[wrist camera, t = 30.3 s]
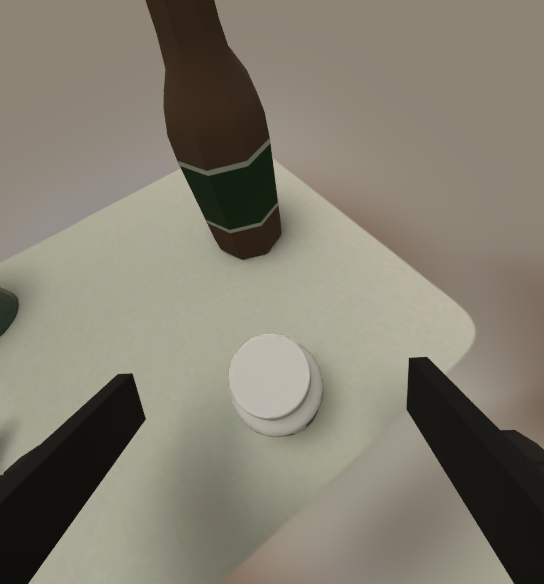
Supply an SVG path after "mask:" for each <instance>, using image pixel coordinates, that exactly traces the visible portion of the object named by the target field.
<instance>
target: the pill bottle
mask: <svg viewBox="0 0 544 584" xmlns="http://www.w3.org/2000/svg"><path fill="white" fill-rule="evenodd" d="M228 382H229V387H230V395H231V400H232V404H233V406H234V409H235V411H236V413H237V414H238V416H239V417H240V419H241V420H242V421H243V422H244V423H245V424H246V425H247V426H248V427H249V428H251V429H252V430H254V431H255V432H257V433H260V434H262V435H266V436H271V437H282V436H288V435H293V434H296V433H298V432H300V431H302V430H304V429H305V428H306V427H307V426H309V425H310V423H311V422H312V421H313V420H314V418H315V416H316V414H317V412H318V409H319V406H320V403H321V399H322V395H323V382H322V375H321V372H320V369H319V366H318V364H317V362H316V360H315V359H314V357H313V356H312V355H311V354H310V352H309V351H308V350H307V349H305V348H304V347H303V346H301V345H300V344H298V343H296V342H294V341H293V340H291V339H290V338H288V337H286V336H283V335H280V334H273V333H267V334H261V335H258V336H255V337H253V338H251V339H249V340H248V341H246V342H245V343H244V344H243V345H242V346H241V347H240V348H239V349H238V350H237V352H236V353H235V355H234V357H233V359H232V361H231V364H230V367H229V374H228Z"/></svg>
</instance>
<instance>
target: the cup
mask: <svg viewBox="0 0 544 584" xmlns="http://www.w3.org/2000/svg"><path fill="white" fill-rule="evenodd" d="M17 309H18V300H17V297H16V296H15V295H14V294H13V293H11V292H9V291H7V290H5V289H3V288H1V287H0V335H2V334H3V333H4V331H5V330H6V329H7V328H8V327H9V325H10V324H11V323H12V321H13V319H14V317H15V315H16V313H17Z"/></svg>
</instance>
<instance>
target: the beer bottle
mask: <svg viewBox="0 0 544 584" xmlns="http://www.w3.org/2000/svg"><path fill="white" fill-rule="evenodd" d="M146 3H147V6H148V9H149V12H150V15H151V18H152V21H153V24H154V27H155V30H156V33H157V37H158V41H159V45H160V49H161V53H162V57H163V60H164V65H165V69H166V70H165V83H164V114H165V121H166V128H167V135H168V138H169V141H170V143H171V146H172V148H173V151H174V153H175V156H176V158H177V161H178V163H179V165H180V167H181V169H182V171H183V174H184V176H185V178H186V180H187V182H188V184H189V186H190V188H191V190H192V192H193V194H194V197H195V199H196V201H197V203H198V205H199V207H200V209H201V211H202V213H203V215H204V217H205V219H206V222H207V224H208V226H209V228H210V230H211V232H212V234H213V236H214V238H215V240H216V242H217V243H218V245H219V247H220V249H222V250H224V251H226V252H228V253H231V254H233V255H235V256H237V257H239V258H241V259H244V258H248V257H252V256H257V255H261V254H265V253H267V252H268V250H269V249H270V248H271V246H272V245H273V244H274V243H275V241H276V240H277V239H278V237H279V236H280V234H281V222H280V214H279V207H278V199H277V191H276V183H275V175H274V168H273V160H272V152H271V144H270V137H269V132H268V128H267V122H266V117H265V112H264V109H263V107H262V105H261V102H260V99H259V96H258V94H257V92H256V89H255V87H254V85H253V83H252V81H251V78H250V76H249V74H248V72H247V70H246V69H245V67H244V66H243V64H242V63H241V62H240V60H239V59H238V58H237V57H236V55H235V54H234V53H233V51H232V50H231V49H230V47H229V46H228V44H227V41H226V39H225V35H224V32H223V29H222V26H221V24H220V21H219V17H218V13H217V9H216V5H215V1H214V0H146Z"/></svg>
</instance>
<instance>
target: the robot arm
mask: <svg viewBox="0 0 544 584" xmlns="http://www.w3.org/2000/svg"><path fill="white" fill-rule="evenodd" d="M407 411H408V412H409V414H410V416H411V417H412V419H413V420H414V422H415V424H416V425H417V427H418V428H419V430H420V432H421V433H422V435H423V437H424V438H425V440H426V442H427V443H428V445H429V446H430V448H431V449H432V451H433V453H434V454H435V456H436V458H437V459H438V461H439V463H440V464H441V466H442V467H443V469H444V471H445V472H446V474H447V476H448V477H449V479H450V480H451V482H452V484H453V485H454V487H455V489H456V490H457V492H458V493H459V495H460V497H461V498H462V500H463V502H464V503H465V505H466V506H467V508H468V510H469V511H470V513H471V514H472V516H473V518H474V519H475V521H476V523H477V524H478V526H479V527H480V529H481V530H482V532H483V534H484V536H485V537H486V539H487V540H488V542H489V544H490V545H491V547H492V548H493V550H494V552H495V553H496V555H497V557H498V558H499V560H500V561H501V563H502V564H503V566H504V568H505V569H506V571H507V573H508V574H509V576H510V578H511V579H512V581H513V583H514V584H544V450H543V449H542V448H541V447H540V446H539V445H538V444H537V443H535V442H533V441H532V440H530V439H529V438H527V437H525V436H524V435H522V434H520V433H519V432H517V431H516V430H499V429H498V428H497V427H496V426H495V425H494V424H493V423H492V422H491V421H490V420H489V419H488V418H487V417H486V416H485V415H484V414H483V413H482V412H481V411H480V410H479V409H478V408H477V407H476V406H475V405H474V404H473V403H472V402H471V401H470V400H469V399H468V398H467V397H466V396H465V395H464V394H463V393H462V392H461V391H460V390H459V388H458V387H457V386H456V385H454V383H453V382H452V381H450V380H449V378H448V377H447V376H446V375H445V374H444V373H443V372H442V371H441V370H440V369H439V368H438V367H437V366H436V365H435V364H434V363H433V362H432V361H431V360H430V359H429V358H428V357H417V358H409V369H408V390H407ZM145 420H146V418H145V415H144V412H143V408H142V405H141V401H140V398H139V394H138V391H137V387H136V384H135V381H134V377H133V374H132V373H130V374H118V375H116V376H115V377H114V378H113V379H112V380H111V381H110V382H109V383H108V384H107V385H105V386H104V387H103V388H102V389H101V390H100V391H99V392H98V393H97V394H96V395H94V396H93V397H92V398H91V399H90V400H89V401H88V402H87V403H86V404H85V405H83V406H82V407H81V408H80V409H79V410H78V411H77V412H76V413H75V414H74V415H72V416H71V417H70V418H69V419H68V420H67V421H66V422H65V423H64V424H63V425H61V426H60V427H59V428H58V429H57V430H56V431H55V432H54V433H53V434H52V435H50V436H49V437H48V438H47V439H46V440H45V441H44V442H43V443H42V444H41V445H39V446H37V447H36V448H34V449H33V450H31V451H30V452H28V453H27V454H25V455H24V456H22V457H21V458H19V459H18V460H17V461H16V462H15V463H14V464H13V465H12V466H10V467H9V468H8V469H7V470H6V471H5V472H4V474H3V475H0V584H28V583H29V582H30V580H31V579H32V578H33V576H34V575H35V573H36V572H37V571H38V569H39V568H40V566H41V565H42V564H43V562H44V561H45V559H46V558H47V557H48V555H49V554H50V552H51V551H52V550H53V548H54V547H55V545H56V544H57V543H58V541H59V540H60V538H61V537H62V536H63V534H64V533H65V531H66V530H67V529H68V527H69V526H70V524H71V523H72V522H73V520H74V519H75V517H76V516H77V515H78V513H79V512H80V510H81V509H82V508H83V506H84V505H85V503H86V502H87V501H88V499H89V498H90V496H91V495H92V494H93V492H94V491H95V489H96V488H97V487H98V485H99V484H100V482H101V481H102V480H103V478H104V477H105V475H106V474H107V473H108V471H109V470H110V468H111V467H112V466H113V464H114V463H115V461H116V460H117V459H118V457H119V456H120V454H121V453H122V452H123V450H124V449H125V448H126V446H127V445H128V443H129V442H130V441H131V439H132V438H133V436H134V435H135V434H136V432H137V431H138V429H139V428H140V427H141V425H142V424H143V422H144V421H145Z"/></svg>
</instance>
